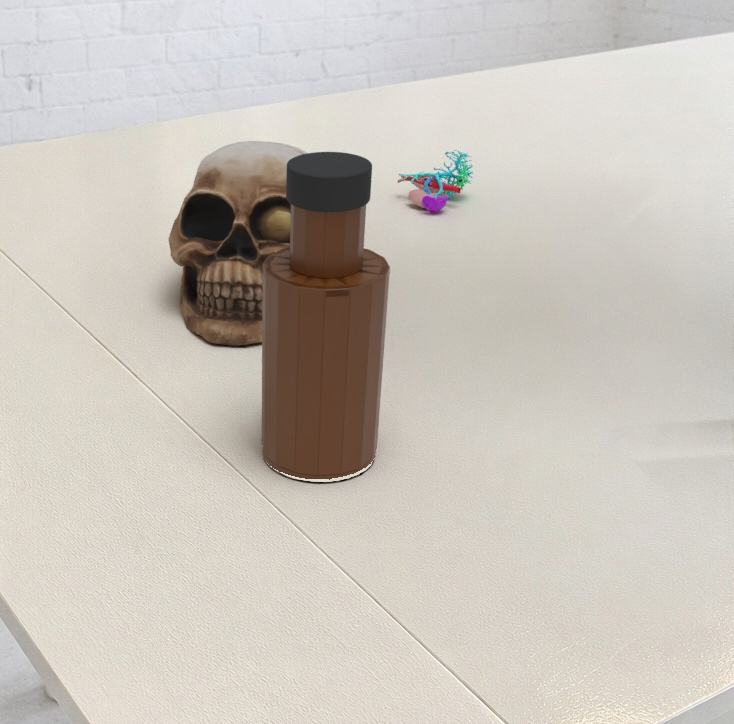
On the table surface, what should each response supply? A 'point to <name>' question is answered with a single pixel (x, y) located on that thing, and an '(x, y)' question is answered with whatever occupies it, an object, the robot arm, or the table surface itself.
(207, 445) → the table surface
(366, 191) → the bung
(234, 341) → the brown skull
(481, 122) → the table surface
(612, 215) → the table surface
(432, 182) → the anatomy model
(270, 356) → the bottle
